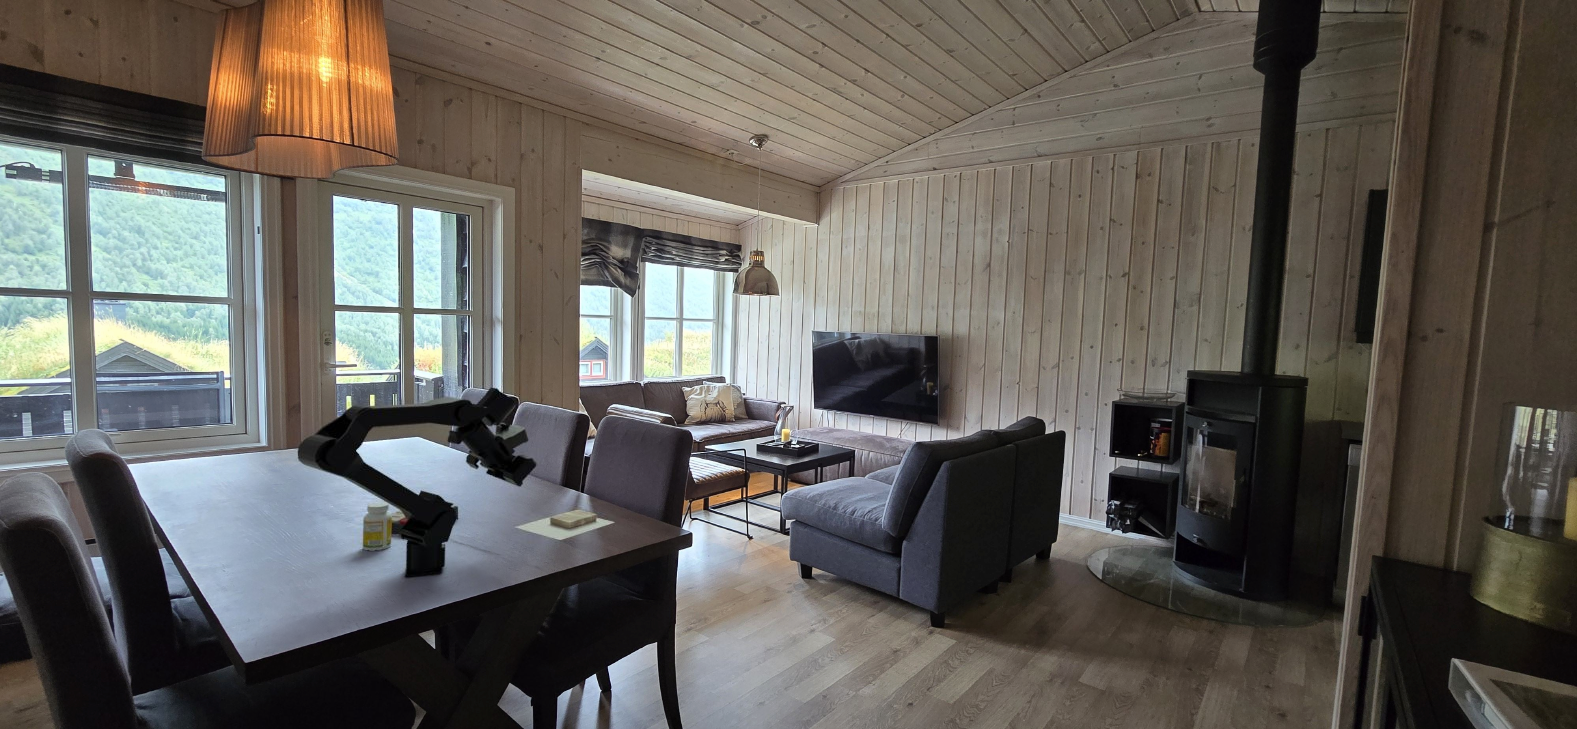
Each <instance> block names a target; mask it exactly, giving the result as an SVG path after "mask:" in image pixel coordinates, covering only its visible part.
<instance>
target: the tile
mask: <svg viewBox="0 0 1577 729" xmlns="http://www.w3.org/2000/svg"><path fill="white" fill-rule="evenodd" d="M556 515H557V516H556ZM556 515H553V517H552V516H550V523H551V524H553V525H557V526H560V527H564V528H568V529H572V528H575V527H578V526H581V525H584V524H588V523H591V522H594V521H596V520H597V518H598V514H597V513H593V512H588V511H585V510H581V509H575V510H572V511H571V512H570V511H566V512H564V514H563V513H560V514H556Z"/></svg>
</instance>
